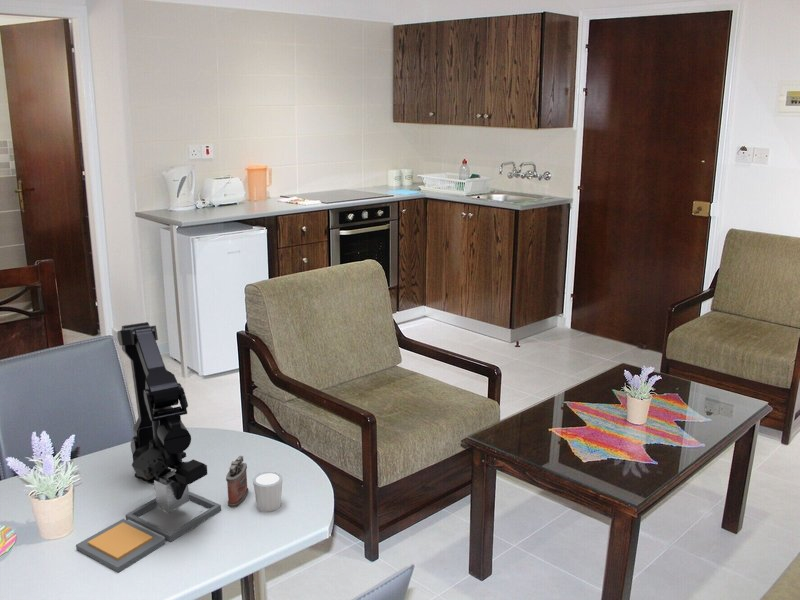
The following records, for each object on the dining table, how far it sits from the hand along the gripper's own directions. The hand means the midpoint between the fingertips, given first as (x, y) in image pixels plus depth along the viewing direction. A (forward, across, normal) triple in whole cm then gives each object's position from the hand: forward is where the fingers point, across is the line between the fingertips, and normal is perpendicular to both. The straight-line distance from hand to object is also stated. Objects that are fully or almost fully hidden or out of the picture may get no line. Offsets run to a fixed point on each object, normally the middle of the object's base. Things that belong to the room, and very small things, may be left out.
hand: (172, 496), depth 174 cm
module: (+2, 0, 0) cm, 2 cm away
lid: (+5, 0, -14) cm, 15 cm away
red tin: (+5, +7, +14) cm, 16 cm away
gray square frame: (+5, 0, 0) cm, 5 cm away
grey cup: (+5, +15, +16) cm, 22 cm away
